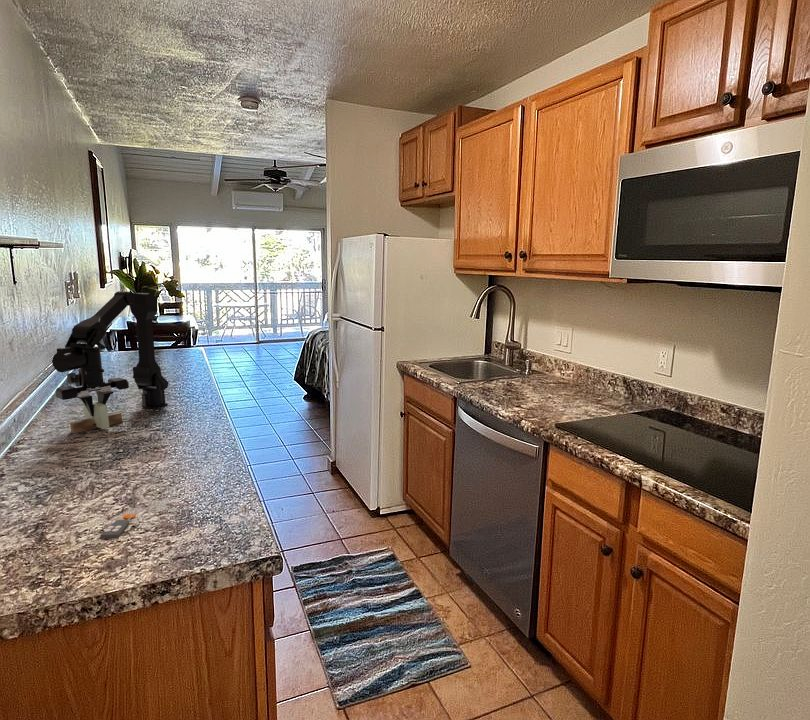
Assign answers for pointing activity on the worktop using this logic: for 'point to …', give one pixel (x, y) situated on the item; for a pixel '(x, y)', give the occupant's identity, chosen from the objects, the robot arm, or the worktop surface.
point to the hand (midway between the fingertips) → (96, 415)
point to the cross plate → (98, 415)
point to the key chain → (117, 527)
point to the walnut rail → (88, 424)
